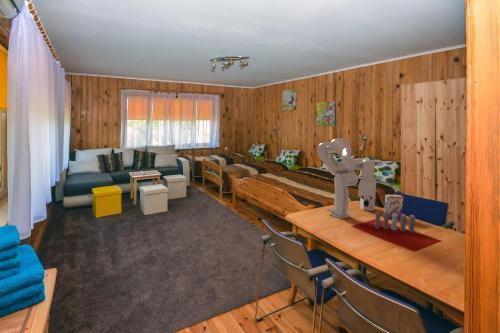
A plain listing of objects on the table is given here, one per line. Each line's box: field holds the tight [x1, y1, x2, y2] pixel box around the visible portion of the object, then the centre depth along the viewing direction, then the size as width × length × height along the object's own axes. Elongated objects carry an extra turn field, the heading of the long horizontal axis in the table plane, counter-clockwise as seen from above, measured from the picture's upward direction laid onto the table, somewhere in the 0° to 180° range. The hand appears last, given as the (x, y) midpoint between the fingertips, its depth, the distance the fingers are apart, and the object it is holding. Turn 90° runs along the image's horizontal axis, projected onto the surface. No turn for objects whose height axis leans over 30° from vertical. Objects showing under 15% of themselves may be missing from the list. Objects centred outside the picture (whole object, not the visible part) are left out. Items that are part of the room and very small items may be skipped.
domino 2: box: [382, 211, 390, 231], centre depth 186 cm, size 2×5×10 cm, turn 163°
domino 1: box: [374, 211, 381, 230], centre depth 187 cm, size 2×5×10 cm, turn 162°
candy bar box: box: [382, 194, 404, 219], centre depth 206 cm, size 11×5×16 cm, turn 84°
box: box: [359, 178, 378, 212], centre depth 225 cm, size 8×8×25 cm
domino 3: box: [390, 213, 398, 232], centre depth 184 cm, size 2×5×10 cm, turn 163°
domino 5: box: [408, 214, 416, 233], centre depth 181 cm, size 2×5×10 cm, turn 163°
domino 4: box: [399, 213, 407, 233], centre depth 183 cm, size 2×5×10 cm, turn 163°
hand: (366, 206), depth 187 cm, fingers closed
